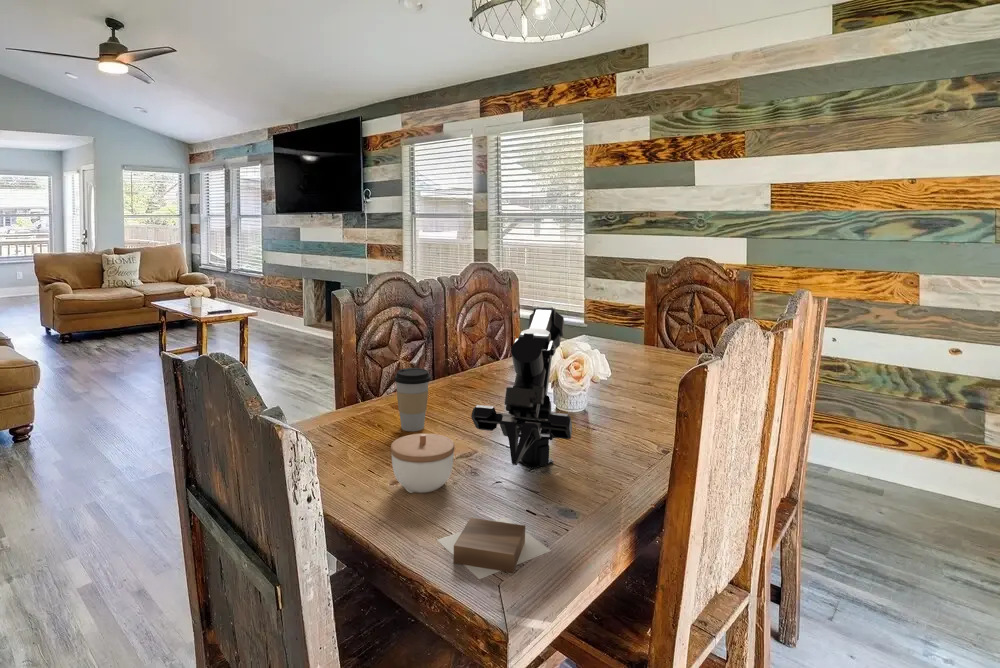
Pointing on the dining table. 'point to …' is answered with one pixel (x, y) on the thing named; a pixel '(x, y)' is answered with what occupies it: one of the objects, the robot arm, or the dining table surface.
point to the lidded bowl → (422, 461)
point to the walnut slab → (490, 545)
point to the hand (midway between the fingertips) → (514, 464)
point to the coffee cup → (412, 397)
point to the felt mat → (528, 552)
